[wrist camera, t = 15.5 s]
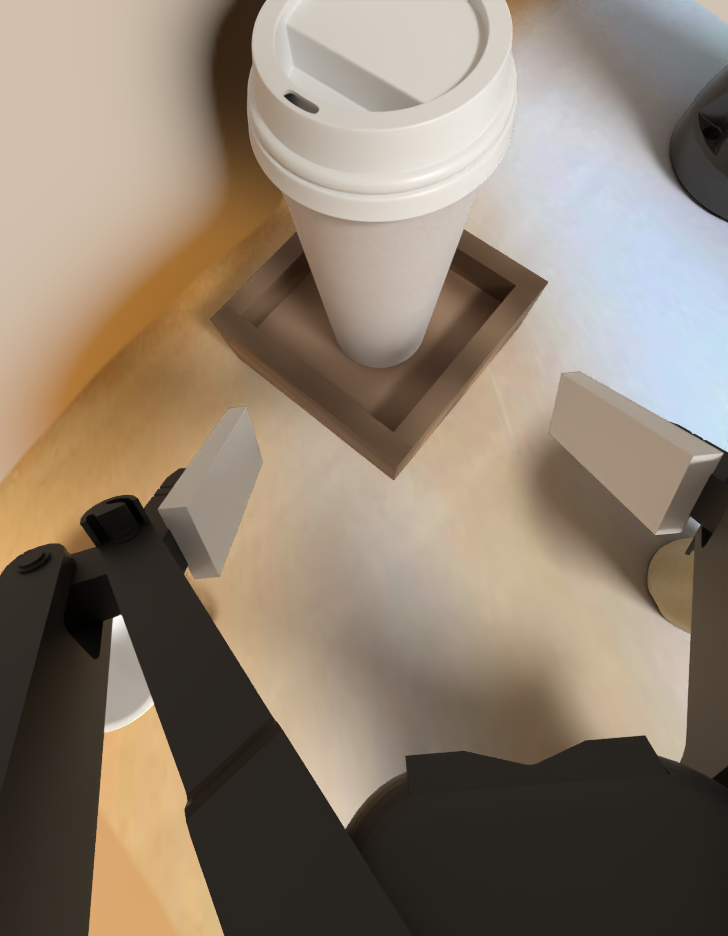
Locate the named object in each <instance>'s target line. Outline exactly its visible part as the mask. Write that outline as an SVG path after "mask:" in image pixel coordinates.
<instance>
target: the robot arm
mask: <svg viewBox="0 0 728 936" xmlns="http://www.w3.org/2000/svg"><path fill="white" fill-rule="evenodd" d="M671 159H672V163H673V166H674V169H675V172H676V174H677V176H678V178H679V180H680V181H681V183H682V184H683V186H684V187H685V188H686V190H687V191H688V192H689V193H690V194H691V195H692V196H693V197H694V198H695V199H696V200H697V201H698V202H699V203H701V204H702V205H703V206H705V207H706V208H707V209H709V210H710V211H712V212H714V213H715V214H717V215H719V216H721V217H723V218H725V219H727V220H728V65H727V66H726V67H725V68H724V69H722V70H721V71H720V72H719V73H718V74H717V75H716V76H715V77H714V78H713V79H712V80H711V81H710V82H709V83H708V84H707V85H706V86H705V87H704V88H703V89H702V90H701V92H700V93H699V94H698V95H697V97H696V98H695V100H694V101H693V102H692V104H691V105H690V107H689V108H688V109H687V111H686V112H685V114H684V115H683V116H682V118H681V119H680V121H679V122H678V124H677V125H676V128H675V130H674V132H673V135H672V139H671ZM549 433H550V434H551V435H552V436H553V437H554V438H555V439H556V440H557V441H558V442H559V443H560V444H561V445H562V446H563V447H564V448H565V449H566V450H567V451H568V452H569V453H570V454H571V455H572V456H574V457H575V458H576V459H577V460H578V461H579V462H580V463H581V464H582V465H583V466H584V467H585V468H586V469H587V470H588V471H589V472H590V473H591V474H592V475H593V476H594V477H595V478H596V479H597V480H598V481H600V482H601V483H602V484H603V485H604V486H605V487H606V488H607V489H608V490H609V491H610V492H611V493H612V494H613V495H614V496H615V497H616V498H617V499H618V500H619V501H620V502H621V503H622V504H623V505H624V506H625V507H627V508H628V509H629V510H630V511H631V512H632V513H633V514H634V515H635V516H636V517H637V518H638V519H639V520H640V521H641V522H642V523H643V524H644V525H645V526H646V527H647V528H648V529H649V530H650V531H651V532H653V533H654V534H655V535H661V534H672V533H681V532H682V530H683V528H684V526H685V525H686V523H687V521H688V519H689V517H690V516H691V517H692V518H693V519H694V520H696V521H697V522H698V523H699V524H701V525H700V527H699V529H698V531H697V532H696V534H695V536H694V538H693V540H692V541H691V543H690V545H689V547H688V548H687V550H686V552H685V554H686V555H690V554H691V552H692V551H694V571H693V594H692V617H691V641H690V664H689V687H688V711H687V734H686V746H685V750H684V754H683V757H682V759H681V762H680V763H678V762H676V761H673V760H670V759H667V758H664V757H661V756H657V754H656V753H655V751H654V749H653V748H652V746H651V744H650V743H649V741H648V739H647V738H646V736H633V737H622V738H610V739H598V740H586V741H584V742H582V743H580V744H578V745H575V746H573V747H571V748H569V749H567V750H565V751H563V752H561V753H559V754H556V755H554V756H552V757H550V758H548V759H546V760H544V761H542V762H540V763H537V764H535V765H524V764H520V763H515V762H511V761H506V760H502V759H497V758H493V757H488V756H484V755H479V754H475V753H470V752H466V751H457V752H446V753H434V754H422V755H411V756H406V769H407V772H405V773H403V774H401V775H399V776H397V777H394V778H393V779H391V780H390V781H388V782H387V783H385V784H384V785H382V786H381V787H380V788H378V789H377V790H376V791H375V792H374V793H373V794H372V795H371V796H370V797H369V798H368V799H367V800H366V801H365V802H364V803H363V805H362V806H361V807H360V808H359V809H358V811H357V812H356V814H355V815H354V817H353V818H352V820H351V821H350V823H349V824H348V826H347V827H346V829H345V828H344V827H343V825H342V823H341V822H340V820H339V819H338V817H337V815H336V814H335V812H334V811H333V809H332V807H331V806H330V804H329V803H328V801H327V800H326V798H325V796H324V795H323V793H322V792H321V790H320V788H319V787H318V785H317V784H316V782H315V780H314V779H313V777H312V776H311V774H310V772H309V771H308V769H307V768H306V766H305V765H304V763H303V761H302V760H301V758H300V757H299V755H298V753H297V752H296V750H295V749H294V747H293V745H292V744H291V742H290V741H289V739H288V738H287V736H286V734H285V733H284V731H283V730H282V728H281V727H280V725H279V724H278V722H276V721H275V719H274V718H273V716H272V715H271V713H270V712H269V710H268V709H267V707H266V705H265V704H264V702H263V701H262V699H261V697H260V696H259V694H258V693H257V691H256V689H255V688H254V686H253V685H252V683H251V681H250V680H249V678H248V676H247V675H246V673H245V672H244V670H243V668H242V667H241V665H240V664H239V662H238V660H237V659H236V657H235V656H234V654H233V652H232V651H231V649H230V648H229V646H228V644H227V643H226V641H225V640H224V638H223V636H222V635H221V633H220V632H219V630H218V628H217V627H216V625H215V624H214V622H213V620H212V619H211V617H210V616H209V614H208V612H207V611H206V609H205V608H204V606H203V604H202V603H201V601H200V600H199V598H198V596H197V595H196V593H195V592H194V590H193V588H192V587H191V585H190V584H189V582H188V580H187V579H186V577H185V576H184V573H185V570H186V568H187V566H188V568H189V569H190V571H191V573H192V575H193V577H194V579H202V578H212V577H220V574H221V571H222V569H223V566H224V564H225V561H226V558H227V556H228V553H229V550H230V548H231V545H232V542H233V540H234V537H235V535H236V532H237V529H238V527H239V524H240V521H241V519H242V516H243V513H244V511H245V508H246V506H247V503H248V500H249V498H250V495H251V492H252V490H253V487H254V484H255V482H256V479H257V477H258V474H259V471H260V469H261V466H262V463H263V459H262V456H261V453H260V449H259V446H258V443H257V439H256V436H255V432H254V429H253V426H252V422H251V419H250V415H249V412H248V409H247V406H244V407H235V408H228V410H227V411H226V413H225V414H224V416H223V417H222V418H221V420H220V421H219V423H218V424H217V425H216V427H215V428H214V430H213V431H212V433H211V434H210V435H209V437H208V438H207V440H206V441H205V443H204V444H203V445H202V447H201V448H200V450H199V451H198V452H197V454H196V455H195V457H194V458H193V460H192V461H191V462H190V464H189V465H188V467H187V468H181V469H178V470H177V471H175V472H174V473H173V474H171V475H170V476H169V477H167V478H166V480H165V481H164V482H163V484H162V485H161V486H160V489H158V490H157V492H156V493H155V494H154V497H152V498H151V500H150V501H149V502H148V504H147V505H146V506H145V507H144V509H143V507H142V505H141V503H140V501H139V500H138V498H136V497H135V496H133V495H122V496H116V497H113V498H110V499H107V500H104V501H102V502H100V503H99V504H97V505H95V506H93V507H92V508H91V509H89V510H88V511H87V512H86V513H85V514H84V515H83V516H82V518H81V522H80V524H81V526H82V527H83V528H84V530H85V531H86V533H87V534H88V536H89V537H90V538H91V540H92V541H93V543H94V544H95V545H96V547H94V548H91V549H88V550H84V551H81V552H78V553H74V554H71V555H70V554H69V552H68V551H67V550H66V548H65V547H64V546H62V545H61V544H47V545H43V546H39V547H37V548H34V549H31V550H28V551H26V552H24V554H21V555H20V556H18V557H17V558H16V559H15V560H13V561H12V562H11V563H10V564H9V565H8V566H6V568H5V569H4V571H3V572H2V573H1V575H0V936H88V932H89V918H90V906H91V893H92V880H93V868H94V855H95V842H96V829H97V816H98V804H99V791H100V778H101V765H102V752H103V740H104V727H105V714H106V701H107V688H108V676H109V663H110V650H111V637H112V624H113V618H114V617H117V616H119V615H122V617H123V620H124V623H125V626H126V628H127V631H128V634H129V637H130V639H131V642H132V645H133V648H134V650H135V653H136V656H137V659H138V661H139V664H140V667H141V670H142V672H143V675H144V678H145V680H146V683H147V686H148V689H149V691H150V694H151V697H152V700H153V702H154V705H155V708H156V711H157V713H158V716H159V719H160V722H161V724H162V727H163V730H164V733H165V735H166V738H167V741H168V744H169V746H170V749H171V752H172V755H173V757H174V760H175V763H176V766H177V768H178V771H179V774H180V777H181V779H182V782H183V785H184V788H185V791H186V794H187V800H188V802H187V804H186V807H185V817H186V823H187V826H188V829H189V833H190V836H191V840H192V843H193V845H194V848H195V851H196V854H197V857H198V860H199V863H200V866H201V869H202V872H203V875H204V878H205V880H206V883H207V886H208V889H209V892H210V895H211V898H212V901H213V904H214V907H215V910H216V913H217V915H218V918H219V921H220V924H221V927H222V930H223V933H224V936H728V452H726V451H724V450H723V449H721V448H719V447H717V446H715V445H714V444H712V443H710V442H708V441H707V440H703V438H701V437H699V436H698V435H696V434H692V432H691V431H689V430H687V429H685V428H683V427H682V426H680V425H678V424H675V423H672V422H669V421H667V420H665V419H663V418H661V417H660V416H658V415H656V414H654V413H653V412H651V411H649V410H647V409H646V408H644V407H642V406H640V405H638V404H637V403H635V402H633V401H631V400H630V399H628V398H626V397H624V396H623V395H621V394H619V393H617V392H616V391H614V390H612V389H610V388H609V387H607V386H605V385H603V384H602V383H600V382H598V381H596V380H594V379H593V378H591V377H589V376H587V375H586V374H584V373H582V372H580V371H578V372H569V373H561V377H560V382H559V387H558V392H557V396H556V401H555V406H554V410H553V415H552V420H551V424H550V429H549Z"/></svg>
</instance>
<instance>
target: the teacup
mask: <svg viewBox="0 0 728 936" xmlns="http://www.w3.org/2000/svg"><path fill="white" fill-rule="evenodd" d="M153 705H154V702H153V700H152V697H151V694H150V691H149V689H148V686H147V683H146V680H145V678H144V675H143V672H142V670H141V667H140V664H139V661H138V659H137V656H136V653H135V650H134V648H133V645H132V642H131V639H130V637H129V634H128V631H127V628H126V626H125V623H124V620H123V617H122V615H119V616H117V617H114V618H113V624H112V637H111V650H110V663H109V676H108V688H107V701H106V714H105V727H104V733H105V732H109V731H113V730H116V729H119V728H121V727H123V726H126V725H128V724H129V723H131V722H133V721H134V720H136V719H137V718H139V717H140V716H141V715H143V714H144V713H145V712H146V711H147V710H149V709H150V708H151V707H152V706H153Z"/></svg>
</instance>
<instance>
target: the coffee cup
mask: <svg viewBox="0 0 728 936" xmlns="http://www.w3.org/2000/svg"><path fill="white" fill-rule="evenodd" d="M511 50H512V20H511V15H510V11H509V8H508V5H507V3H506V1H505V0H266V2H265V3H264V5H263V7H262V8H261V10H260V12H259V14H258V17H257V19H256V22H255V25H254V30H253V35H252V59H253V65H252V68H251V71H250V76H249V81H248V99H247V114H248V124H249V136H250V141H251V145H252V149H253V152H254V154H255V157H256V159H257V161H258V163H259V165H260V166H261V168H262V170H263V171H264V173H265V174H266V175H267V177H268V178H269V179H270V180H271V181H272V182H273V183H274V184H275V185H276V186H277V187H278V188H279V189H280V190H281V191H282V194H283V196H284V199H285V202H286V204H287V207H288V210H289V212H290V215H291V218H292V220H293V223H294V226H295V228H296V231H297V234H298V236H299V239H300V242H301V245H302V247H303V250H304V253H305V255H306V258H307V261H308V264H309V266H310V269H311V272H312V274H313V277H314V280H315V283H316V285H317V288H318V291H319V294H320V296H321V299H322V302H323V304H324V307H325V310H326V313H327V315H328V318H329V321H330V324H331V326H332V329H333V332H334V335H335V337H336V340H337V343H338V345H339V346H340V348H341V350H342V351H343V352H344V353H345V354H346V355H347V356H348V357H349V358H350V359H351V360H353V361H355V362H356V363H358V364H361V365H364V366H367V367H372V368H386V367H391V366H395V365H397V364H400V363H402V362H404V361H405V360H407V359H408V358H410V357H411V356H412V355H413V354H414V353H415V352H416V351H417V349H418V348H419V346H420V345H421V343H422V340H423V338H424V335H425V333H426V330H427V327H428V324H429V322H430V319H431V316H432V313H433V311H434V308H435V305H436V303H437V300H438V297H439V294H440V292H441V289H442V286H443V284H444V281H445V278H446V275H447V273H448V270H449V267H450V265H451V262H452V259H453V257H454V254H455V251H456V248H457V246H458V243H459V240H460V238H461V235H462V232H463V230H464V227H465V224H466V222H467V219H468V216H469V214H470V211H471V208H472V206H473V203H474V200H475V198H476V195H477V193H478V190H479V187H480V185H481V183H483V182H484V181H485V180H486V179H487V178H488V177H489V176H490V174H491V173H492V172H493V171H494V170H495V168H496V167H497V166H498V164H499V163H500V161H501V160H502V158H503V157H504V155H505V153H506V151H507V149H508V147H509V144H510V142H511V139H512V135H513V131H514V126H515V118H516V108H517V74H516V66H515V61H514V58H513V54H512V52H511Z"/></svg>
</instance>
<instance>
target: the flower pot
mask: <svg viewBox="0 0 728 936" xmlns="http://www.w3.org/2000/svg"><path fill="white" fill-rule="evenodd" d="M693 538H694V537H690V538H682V539H678V540H675V541H672V542H670V543H668V544H667V545H665V546H663V547H661V548H660V549H659V550H658V551H657V552H656V553H655V555H654V557H653V558H652V560H651V563H650V565H649V569H648V578H647V581H648V589H649V592H650V594H651V595H652V597H653V599H654V600H655V602H656V604H657V606H658V608H659V610H660V612H661V614H662V615H663V616H664V617H665V618H666V619H667V620H668V621H669V622H670V623H672V624H673V625H674V626H676V627H678V628H679V629H681V630H683V631H685V632H687V633H690V634H691V617H692V594H693V571H694V551H692V552H691V554H690V555H686V554H685V552H686V550H687V548H688V547H689V545H690V543H691V541H692V540H693Z"/></svg>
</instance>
